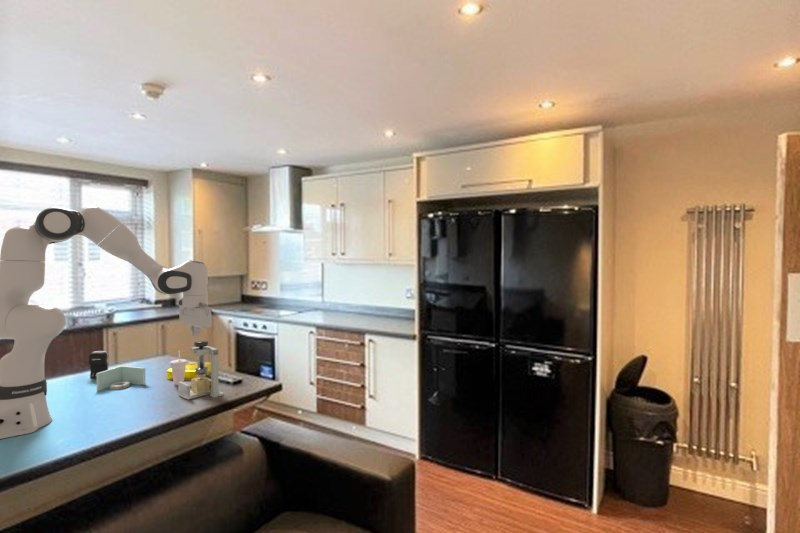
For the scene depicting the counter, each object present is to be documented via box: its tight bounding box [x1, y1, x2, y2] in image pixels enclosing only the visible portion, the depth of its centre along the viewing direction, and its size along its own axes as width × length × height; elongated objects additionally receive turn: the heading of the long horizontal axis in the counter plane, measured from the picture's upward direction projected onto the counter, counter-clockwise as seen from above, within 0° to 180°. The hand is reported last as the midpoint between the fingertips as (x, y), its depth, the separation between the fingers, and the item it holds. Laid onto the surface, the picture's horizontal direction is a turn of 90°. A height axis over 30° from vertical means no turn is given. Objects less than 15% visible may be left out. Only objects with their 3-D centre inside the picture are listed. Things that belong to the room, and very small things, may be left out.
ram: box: [193, 340, 209, 375], centre depth 175 cm, size 5×5×12 cm
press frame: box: [190, 345, 225, 399], centre depth 176 cm, size 7×17×18 cm, turn 50°
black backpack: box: [88, 350, 110, 379], centre depth 195 cm, size 7×4×11 cm, turn 100°
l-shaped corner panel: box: [96, 365, 146, 391], centre depth 183 cm, size 12×12×8 cm
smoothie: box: [169, 350, 188, 386], centre depth 187 cm, size 6×6×14 cm
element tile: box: [166, 361, 211, 381], centre depth 201 cm, size 15×15×5 cm
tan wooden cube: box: [190, 376, 211, 393], centre depth 175 cm, size 5×5×5 cm
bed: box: [177, 378, 211, 400], centre depth 175 cm, size 12×8×5 cm, turn 140°
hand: (195, 337), depth 174 cm, fingers closed
